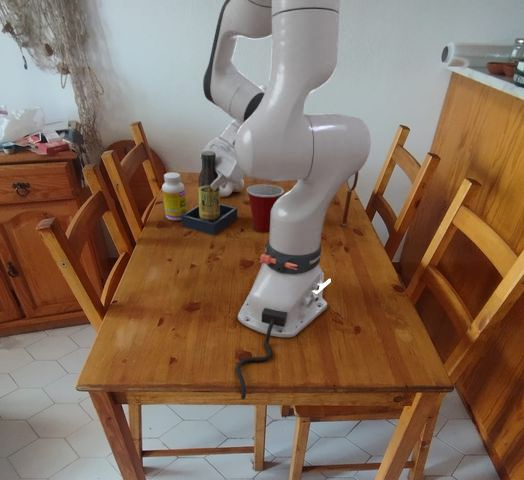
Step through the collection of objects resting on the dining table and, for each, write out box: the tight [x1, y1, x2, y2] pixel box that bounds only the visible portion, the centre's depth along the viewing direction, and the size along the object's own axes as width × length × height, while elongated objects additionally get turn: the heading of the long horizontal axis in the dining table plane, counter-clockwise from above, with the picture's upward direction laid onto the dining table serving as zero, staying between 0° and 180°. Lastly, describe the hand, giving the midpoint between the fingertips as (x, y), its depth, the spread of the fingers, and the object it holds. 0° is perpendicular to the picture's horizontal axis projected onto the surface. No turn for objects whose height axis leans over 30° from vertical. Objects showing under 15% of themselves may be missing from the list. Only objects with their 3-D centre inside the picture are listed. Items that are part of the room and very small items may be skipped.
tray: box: [181, 203, 238, 236], centre depth 127 cm, size 14×12×3 cm
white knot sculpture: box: [216, 171, 245, 198], centre depth 142 cm, size 11×12×9 cm
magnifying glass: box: [342, 171, 359, 227], centre depth 123 cm, size 9×2×20 cm, turn 4°
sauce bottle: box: [197, 150, 221, 223], centre depth 121 cm, size 6×6×20 cm
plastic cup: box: [246, 184, 285, 233], centre depth 122 cm, size 11×11×12 cm
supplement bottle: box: [161, 171, 188, 222], centre depth 126 cm, size 7×7×13 cm
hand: (206, 183), depth 120 cm, fingers closed on sauce bottle, 6 cm apart
